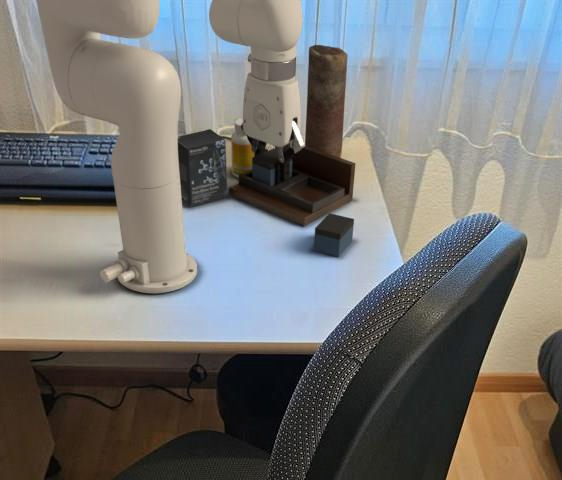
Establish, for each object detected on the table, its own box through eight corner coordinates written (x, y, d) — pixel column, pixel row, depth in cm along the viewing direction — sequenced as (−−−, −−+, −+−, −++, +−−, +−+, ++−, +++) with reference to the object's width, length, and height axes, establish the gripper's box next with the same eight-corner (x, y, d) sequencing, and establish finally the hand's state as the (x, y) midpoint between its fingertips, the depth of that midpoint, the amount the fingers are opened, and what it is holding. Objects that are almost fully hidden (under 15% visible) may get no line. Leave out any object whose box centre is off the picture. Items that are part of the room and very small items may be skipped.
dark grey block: (270, 187, 136) (270, 164, 133) (252, 179, 138) (252, 157, 135) (291, 177, 139) (292, 154, 136) (273, 170, 141) (273, 148, 138)
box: (190, 208, 135) (186, 147, 127) (175, 196, 138) (170, 136, 130) (228, 198, 138) (226, 138, 130) (213, 186, 141) (210, 127, 133)
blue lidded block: (338, 257, 124) (340, 234, 121) (313, 250, 125) (314, 227, 122) (352, 241, 127) (354, 218, 125) (327, 235, 129) (329, 212, 126)
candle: (307, 152, 153) (312, 40, 139) (343, 155, 152) (352, 43, 138) (301, 167, 148) (305, 53, 133) (338, 170, 147) (346, 56, 133)
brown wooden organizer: (304, 226, 131) (305, 188, 126) (228, 195, 139) (227, 158, 134) (352, 200, 138) (355, 163, 133) (278, 172, 146) (279, 135, 141)
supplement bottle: (230, 169, 147) (228, 117, 140) (256, 167, 148) (256, 115, 141) (234, 180, 143) (233, 128, 136) (262, 178, 144) (262, 126, 137)
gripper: (221, 61, 127) (224, 170, 140) (297, 85, 120) (293, 198, 133) (251, 52, 131) (251, 158, 144) (326, 74, 124) (320, 185, 137)
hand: (271, 176), depth 138 cm, fingers closed on dark grey block, 4 cm apart
